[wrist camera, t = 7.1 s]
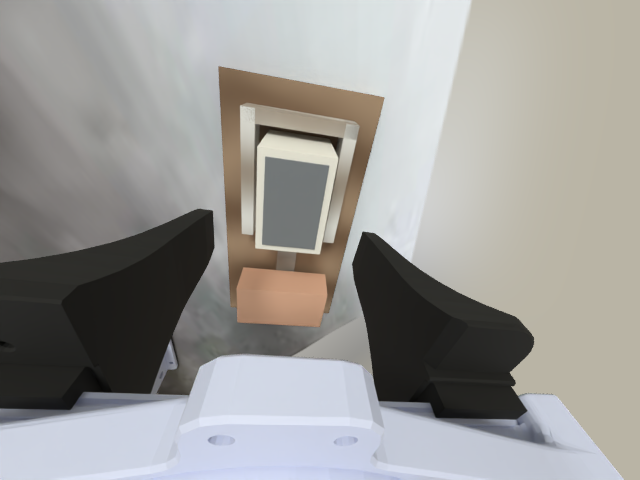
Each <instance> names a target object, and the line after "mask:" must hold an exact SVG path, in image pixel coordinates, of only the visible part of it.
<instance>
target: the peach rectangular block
mask: <svg viewBox="0 0 640 480" xmlns="http://www.w3.org/2000/svg"><path fill="white" fill-rule="evenodd" d="M326 299H327V286H326V277H325V274H316V273H304V272H293V271H281V270H269V269H257V268H246V267H243V270H242V273H241V276H240V279H239V282H238V285H237V320H238V322H240V323H258V324H275V325H293V326H311V327H320V324H321V320H322V316H323V312H324V308H325V304H326Z"/></svg>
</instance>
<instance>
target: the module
mask: <svg viewBox="0 0 640 480" xmlns="http://www.w3.org/2000/svg"><path fill="white" fill-rule="evenodd" d="M337 164H338V156H337V154H336V152H335V150H334V148H333V145H332V143H331V141H330V139H326V138H320V137H313V136H307V135H301V134H294V133H288V132H282V131H275V130H269V131H268V132H267V134H266V135H265V137H264V138H263V139H262V141H261V142H260V144H259V145H258V146H257V188H256V237H255V248H257V249H267V250H278V251H288V252H299V253H309V254H320V251H321V246H322V241H323V236H324V231H325V226H326V220H327V215H328V210H329V205H330V200H331V195H332V189H333V184H334V179H335V174H336V169H337Z"/></svg>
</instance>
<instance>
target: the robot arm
mask: <svg viewBox="0 0 640 480" xmlns="http://www.w3.org/2000/svg"><path fill="white" fill-rule="evenodd" d="M213 250H214V227H213V211H211V210H204V209H197V210H194V211H191V212H189V213H187V214H185V215H183V216H180V217H178V218H176V219H174V220H172V221H169V222H167V223H165V224H163V225H160V226H158V227H155V228H153V229H150V230H148V231H145V232H143V233H140V234H137V235H134V236H131V237H128V238H125V239H122V240H119V241H115V242H112V243H108V244H104V245H100V246H96V247H92V248H88V249H83V250H79V251H74V252H69V253H64V254H59V255H53V256H47V257H41V258H35V259H28V260H20V261H12V262H4V263H0V480H624V479H623V478H622V476H621V475H620V474H619V473H618V472H617V470H616V469H615V468H614V467H613V465H612V464H611V463H610V462H609V460H608V459H607V458H606V457H605V455H604V454H603V453H602V452H601V450H600V449H599V448H598V447H597V446H596V444H595V443H594V442H593V441H592V439H591V438H590V437H589V436H588V434H587V433H586V432H585V431H584V429H583V428H582V427H581V426H580V425H579V423H578V422H577V421H576V419H575V418H574V417H573V416H572V415H571V413H570V412H569V411H568V410H567V408H566V407H565V406H564V405H563V403H562V402H561V401H560V400H559V399H558V397H557V396H556V395H553V394H536V393H528V394H527V393H526V394H522V395H519V396H517V395H516V393H515V391H514V390H513V389H512V387H511V386H514V385H515V384H516V383H515V380H514V379H513V377H512V376H511V374H510V373H509V372H510V371H512V370H513V369H514V368H515V367H516V366H517V365H518V364H519V363H520V362H521V361H522V360H523V359H524V358H525V357H526V356H527V355H528V354H529V353H530V352H531V350H532V348H533V345H534V337H533V336H532V334H531V333H530V332H529V330H528V329H527V328H526V327H525V326H524V325H523V324H522V323H521V322H520V320H519V319H517V318H516V317H515V316H512V315H510V314H507V313H504V312H502V311H499V310H497V309H494V308H492V307H489V306H486V305H484V304H482V303H479V302H477V301H475V300H473V299H471V298H468V297H466V296H464V295H462V294H460V293H458V292H456V291H455V290H453V289H451V288H449V287H447V286H445V285H443V284H442V283H440V282H438V281H437V280H435V279H434V278H432V277H430V276H429V275H427V274H426V273H424V272H423V271H421V270H420V269H418V268H417V267H416V266H414V265H413V264H412V263H410V262H409V261H408V260H407V259H405V258H404V257H403V256H402V255H400V254H399V253H398V252H397V251H396V250H394V249H393V248H392V247H391V246H390V245H389V244H387V243H386V242H385V241H384V240H383V239H382V238H380V237H379V236H378V235H376V234H375V233H369V232H363V233H362V236H361V239H360V242H359V245H358V248H357V251H356V254H355V257H354V260H353V263H352V266H353V275H354V281H355V285H356V289H357V293H358V296H359V300H360V303H361V307H362V311H363V314H364V317H365V322H366V327H367V333H368V339H369V346H370V353H371V361H372V369H373V377H372V375H371V374H370V373H369V372H368V371H367V370H366V369H365V368H364V367H363V366H362V365H360V364H357V363H353V362H349V361H345V360H340V359H324V358H306V357H289V356H272V355H254V354H236V355H225V356H220V357H218V358H216V359H214V360H212V361H210V362H208V363H206V364H204V365H202V366H201V367H200V368H199V371H198V374H197V376H196V379H195V381H194V384H193V387H192V390H191V392H190V395H164V394H156V393H157V391H158V389H159V387H160V385H161V383H162V381H163V379H164V377H165V374H166V372H167V370H168V369H171V370H173V369H176V368H177V366H178V364H177V360H176V356H175V352H174V349H173V345H172V341H171V337H172V335H173V332H174V330H175V327H176V325H177V323H178V320H179V318H180V316H181V313H182V311H183V309H184V307H185V305H186V303H187V301H188V299H189V298H190V296H191V294H192V292H193V291H194V289H195V287H196V285H197V283H198V282H199V280H200V278H201V276H202V275H203V273H204V271H205V269H206V267H207V265H208V263H209V261H210V258H211V256H212V253H213ZM373 379H374V381H373Z"/></svg>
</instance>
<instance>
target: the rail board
mask: <svg viewBox="0 0 640 480" xmlns="http://www.w3.org/2000/svg"><path fill="white" fill-rule="evenodd" d="M218 67H219V66H218ZM219 86H220V106H221V125H222V145H223V164H224V184H225V204H226V223H227V243H228V262H229V282H230V302H231V307H237V285H238V282H239V279H240V276H241V273H242V270H243V267H246V268H257V269H269V270H281V271H293V272H304V273H316V274H325V277H326V286H327V299H326V304H325V308H324V312H323V313H329V310H330V306H331V302H332V298H333V294H334V290H335V286H336V283H337V279H338V275H339V271H340V267H341V263H342V260H343V256H344V252H345V248H346V244H347V240H348V236H349V233H350V229H351V225H352V221H353V217H354V213H355V209H356V206H357V202H358V198H359V194H360V190H361V186H362V182H363V179H364V175H365V171H366V167H367V163H368V159H369V155H370V152H371V148H372V144H373V140H374V136H375V132H376V128H377V125H378V121H379V117H380V113H381V109H382V105H383V101H384V97H379V96H374V95H369V94H363V93H358V92H353V91H347V90H342V89H337V88H331V87H326V86H321V85H315V84H310V83H305V82H299V81H294V80H289V79H283V78H278V77H273V76H267V75H262V74H257V73H251V72H246V71H241V70H235V69H230V68H225V67H219ZM269 130H275V131H282V132H288V133H294V134H301V135H307V136H313V137H320V138H326V139H330V141H331V143H332V145H333V148H334V150H335V152H336V154H337V156H338V164H337V169H336V174H335V179H334V184H333V189H332V195H331V200H330V205H329V210H328V215H327V220H326V226H325V231H324V236H323V241H322V246H321V251H320V254H309V253H299V252H288V251H278V250H267V249H257V248H255V237H256V188H257V146H258V145H259V144H260V142H261V141H262V139H263V138H264V137H265V135H266V134H267V132H268V131H269Z"/></svg>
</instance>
